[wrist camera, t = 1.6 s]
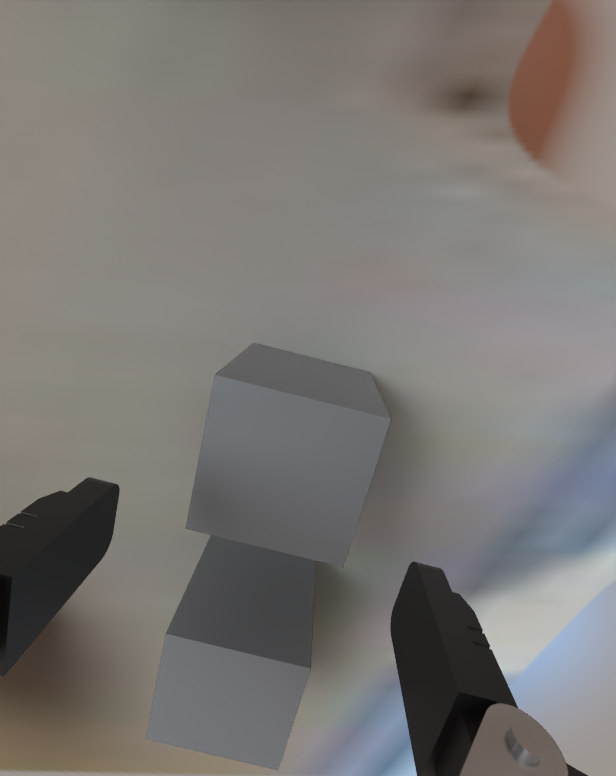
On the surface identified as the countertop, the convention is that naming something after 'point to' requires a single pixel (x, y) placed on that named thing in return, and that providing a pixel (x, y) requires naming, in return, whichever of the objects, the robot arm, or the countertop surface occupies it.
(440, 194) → the countertop surface
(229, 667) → the plain grey cube
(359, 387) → the matte grey cube
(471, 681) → the robot arm
